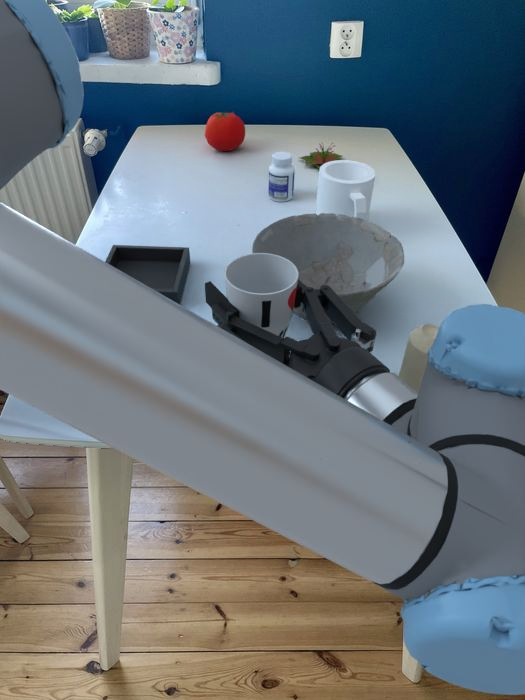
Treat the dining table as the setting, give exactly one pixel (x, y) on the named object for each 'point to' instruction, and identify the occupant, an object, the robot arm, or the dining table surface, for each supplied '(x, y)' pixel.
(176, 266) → the shallow square tray
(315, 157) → the lily flower
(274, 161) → the pill bottle
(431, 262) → the dining table surface
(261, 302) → the cup
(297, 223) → the ceramic bowl
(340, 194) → the mug
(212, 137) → the tomato
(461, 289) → the dining table surface
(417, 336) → the candle
